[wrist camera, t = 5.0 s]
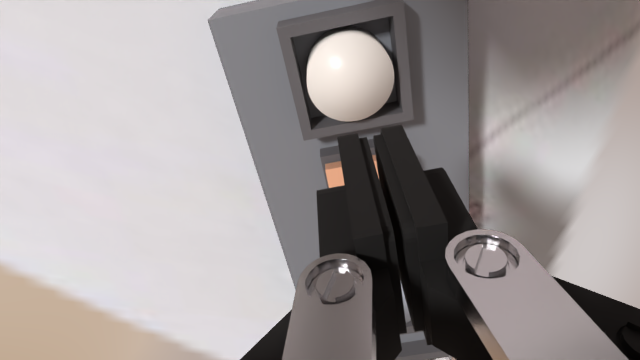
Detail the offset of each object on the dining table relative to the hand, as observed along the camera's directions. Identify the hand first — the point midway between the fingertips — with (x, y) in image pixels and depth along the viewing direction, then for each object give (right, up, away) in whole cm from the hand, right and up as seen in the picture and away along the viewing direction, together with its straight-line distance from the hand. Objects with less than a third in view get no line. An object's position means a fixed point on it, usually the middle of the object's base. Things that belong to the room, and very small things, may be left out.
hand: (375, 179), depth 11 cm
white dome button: (0, +6, +10) cm, 11 cm away
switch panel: (+2, -1, +18) cm, 18 cm away
